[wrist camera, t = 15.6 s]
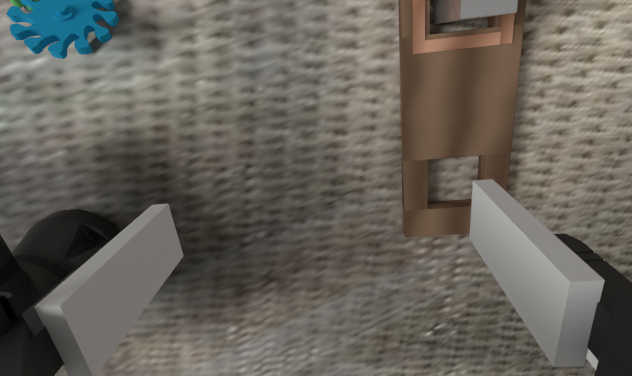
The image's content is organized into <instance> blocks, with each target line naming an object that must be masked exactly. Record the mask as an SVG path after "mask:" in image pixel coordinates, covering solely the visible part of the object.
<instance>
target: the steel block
mask: <svg viewBox="0 0 632 376" xmlns="http://www.w3.org/2000/svg"><path fill="white" fill-rule="evenodd" d="M517 4H518V0H434V24H439V23H447V22H456V21H464V20H472V19H480V18H486V17H492V16H498V15H504V14H510V13H516V12H517Z"/></svg>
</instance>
